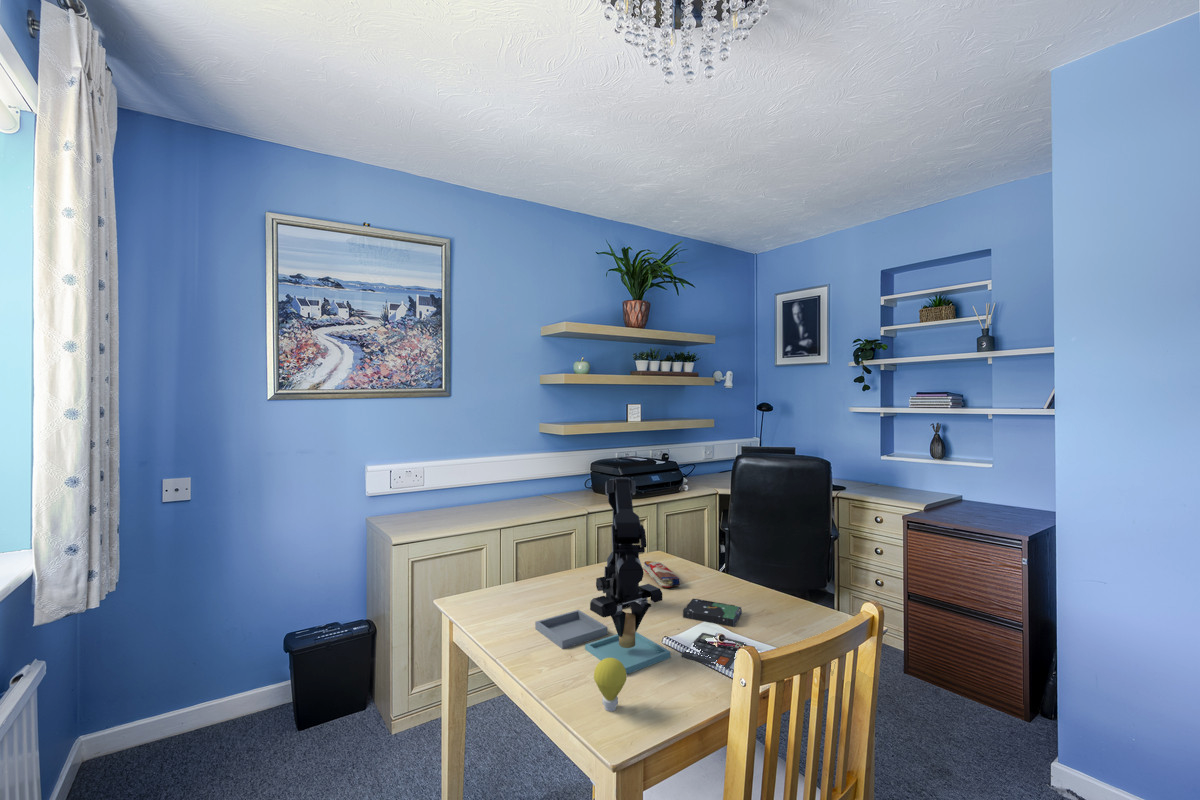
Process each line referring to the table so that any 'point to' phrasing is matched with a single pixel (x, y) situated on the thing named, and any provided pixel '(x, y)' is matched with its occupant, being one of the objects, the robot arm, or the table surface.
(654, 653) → the tray
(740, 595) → the table surface
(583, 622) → the shallow gray bin
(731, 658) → the calculator
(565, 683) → the table surface
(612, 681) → the light bulb
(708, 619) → the disk drive
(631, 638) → the wooden peg
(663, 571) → the pencil case
